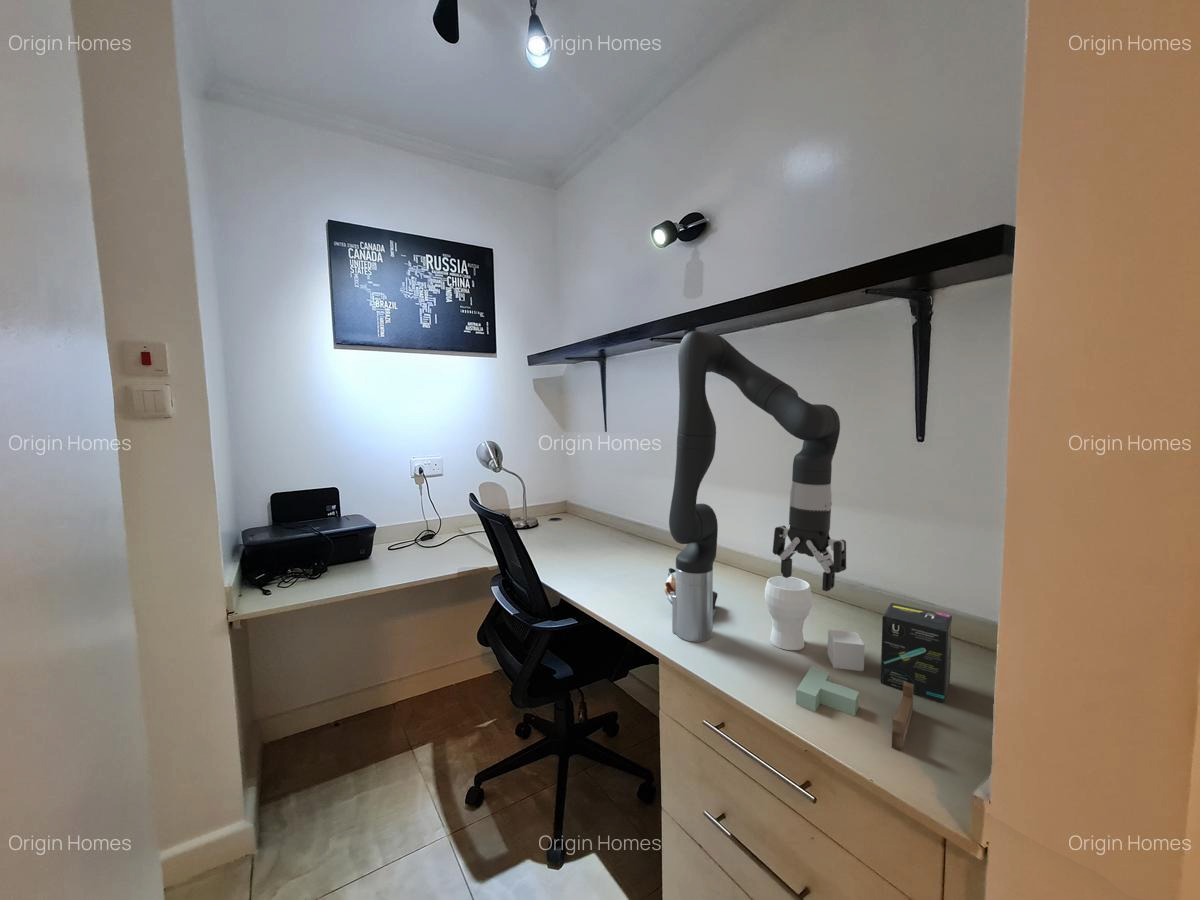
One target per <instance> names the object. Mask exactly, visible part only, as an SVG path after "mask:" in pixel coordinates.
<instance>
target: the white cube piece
mask: <svg viewBox="0 0 1200 900" xmlns="http://www.w3.org/2000/svg"><path fill="white" fill-rule="evenodd" d="M827 656H828V659H829V661H830V662H831V666H832V667H833V668H834V669H840V670H841V669H843V670H850V671H851V670H852V671H858V672H864V670H865V643H864V642H863V640H862V639H861V637H860V635H859V634H858V632H855V631H844V630H837V629H828V630H827Z"/></svg>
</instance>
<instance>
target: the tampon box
mask: <svg viewBox="0 0 1200 900" xmlns="http://www.w3.org/2000/svg"><path fill="white" fill-rule="evenodd" d="M881 618H882V623H881V626H882V627H881V629H882V630H881V633H882V634H881V652H880V653H881V655H880V683H881V684H882V685H885V686H887V687H888V686H889V687H892V688H895V689H898V690H901V691H903V684H904V681H905V682H908V683H911V684H914V690H913V695H916V696H920V697H923V698H927V699H929V700H932V701H936V702H939V703H944V702H945V699H946V696H947V693H948V689H949V685H950V682H951V665H952V664H951V659H952V658H951V657H952V646H951V645H952V639H951V638H952V619H953V615H951V614H950V615H949V614H946V613H941V612H936V611H931V610H926V609H923V608H917V607H912V606H908V605H903V604H899V603H896V602H895V603H894V602H890V603H889V605H888V607H887V608H886V610H885V612H884V613H883V614H882V617H881Z"/></svg>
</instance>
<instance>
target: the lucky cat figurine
mask: <svg viewBox="0 0 1200 900" xmlns="http://www.w3.org/2000/svg"><path fill="white" fill-rule="evenodd" d="M667 575H668V576H667V579H666V581H665V583H664V592H665V596H666V599H667V600H668V602H669V603H670V604H671V605H672V597H673V596H674V595H675V594H676V569H674V568H672V567H669V568H668V574H667ZM717 599H718V592H716V591H714V590H713V618H714V617H715V615H716V612H717V610H716V603H717Z"/></svg>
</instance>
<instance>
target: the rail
mask: <svg viewBox="0 0 1200 900" xmlns="http://www.w3.org/2000/svg"><path fill="white" fill-rule="evenodd" d="M913 690H914V684H911V683H908V682H905V681H904V684H903V690H902V696H901V700H900V703H899V706H898V709H897V714H893V717H892V724H891V726H892V727H891V749H894V750H897V751H900V752H903V749H904V746H905V742H906V737H907V735H908V734H907V733H908V730H909V725H910V722H911V718H912V714H913V710H914V694H913Z"/></svg>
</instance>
